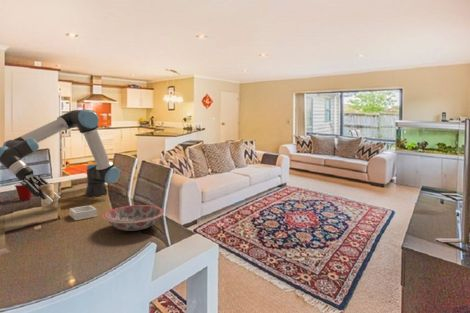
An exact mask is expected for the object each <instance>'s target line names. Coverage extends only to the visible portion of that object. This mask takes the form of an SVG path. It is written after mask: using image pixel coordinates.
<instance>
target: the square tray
mask: <svg viewBox="0 0 470 313" xmlns="http://www.w3.org/2000/svg"><path fill="white" fill-rule="evenodd" d="M69 216H70V217H71V219H73V220H74V221H79V220H84V219H90V218H94V217H95V218H96V217H98V208H96V207H94V206H93V205H90V204H89V205H84V206H76V207H71V208H69Z"/></svg>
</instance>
